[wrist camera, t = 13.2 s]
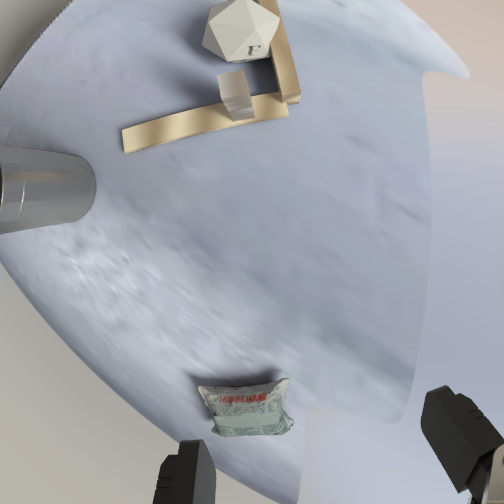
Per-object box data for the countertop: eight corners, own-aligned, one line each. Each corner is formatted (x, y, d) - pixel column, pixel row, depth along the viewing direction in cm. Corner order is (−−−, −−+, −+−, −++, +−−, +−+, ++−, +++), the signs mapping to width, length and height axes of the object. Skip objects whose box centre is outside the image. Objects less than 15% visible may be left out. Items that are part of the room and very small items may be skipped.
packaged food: (202, 377, 41) (194, 397, 37) (289, 370, 40) (290, 391, 36) (214, 423, 43) (209, 444, 38) (294, 418, 42) (295, 440, 37)
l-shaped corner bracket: (128, 153, 37) (85, 142, 27) (117, 42, 34) (82, 12, 24) (301, 114, 34) (309, 86, 25) (272, 2, 32) (270, -44, 22)
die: (199, 67, 35) (220, 71, 28) (192, 6, 30) (212, -7, 23) (259, 59, 37) (294, 64, 30) (254, 1, 32) (289, -8, 25)
